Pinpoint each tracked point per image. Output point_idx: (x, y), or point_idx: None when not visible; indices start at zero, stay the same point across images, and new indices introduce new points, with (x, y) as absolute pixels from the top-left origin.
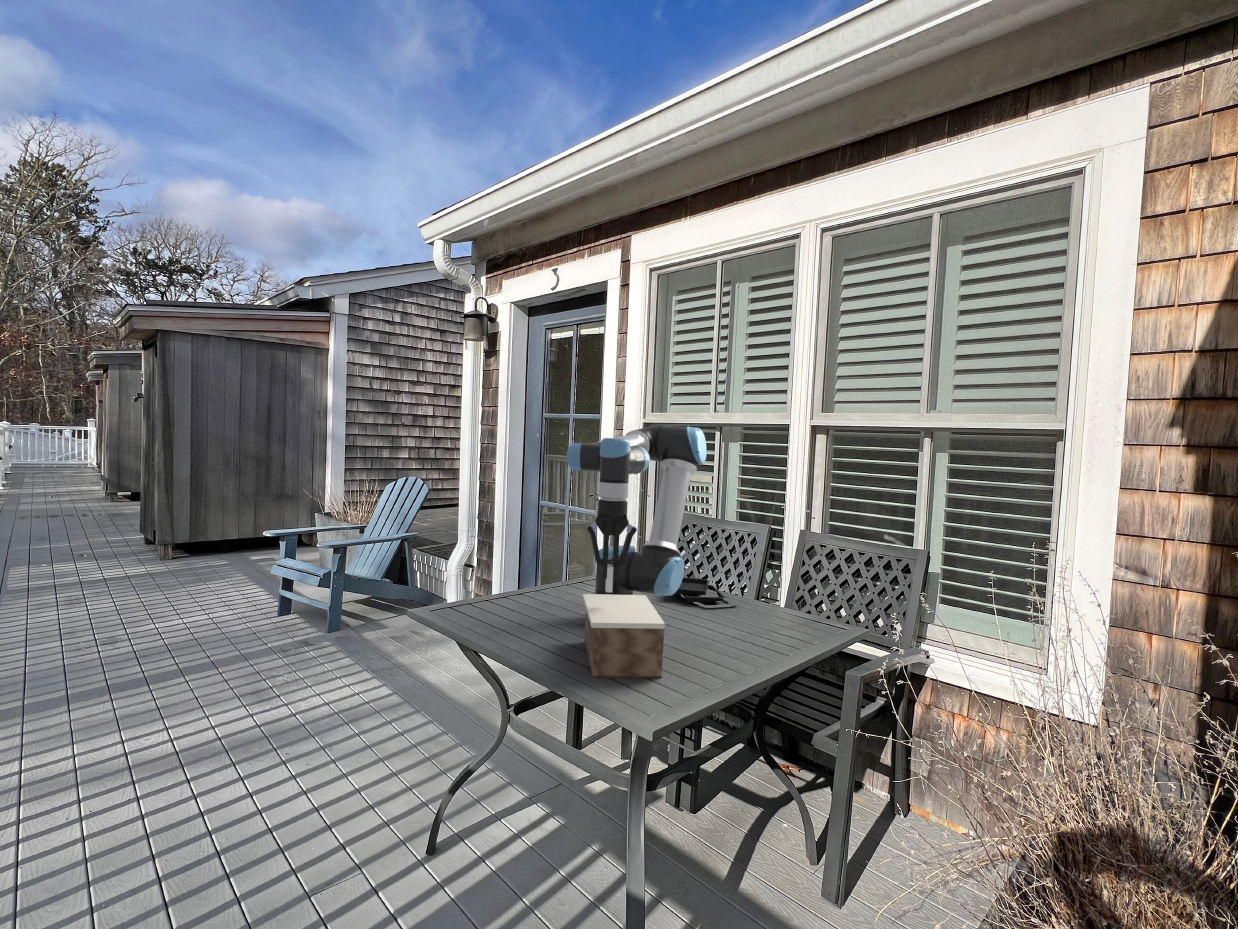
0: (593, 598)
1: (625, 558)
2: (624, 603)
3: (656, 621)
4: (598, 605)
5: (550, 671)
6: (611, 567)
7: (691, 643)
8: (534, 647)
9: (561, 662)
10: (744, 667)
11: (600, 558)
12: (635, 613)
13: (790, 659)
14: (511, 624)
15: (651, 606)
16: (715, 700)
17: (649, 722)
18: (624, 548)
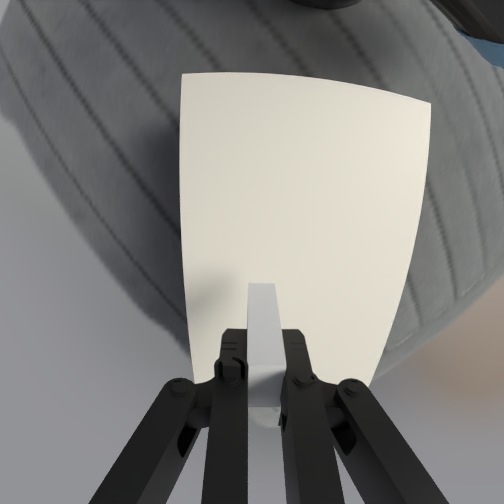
0: (217, 144)
1: (356, 438)
2: (331, 219)
3: None
4: (226, 250)
5: (143, 288)
6: (268, 404)
7: (454, 139)
8: (103, 152)
9: (159, 244)
10: (472, 271)
11: (197, 410)
12: (330, 333)
13: None
14: (72, 13)
15: (406, 257)
16: (373, 378)
17: (272, 421)
18: (360, 491)
